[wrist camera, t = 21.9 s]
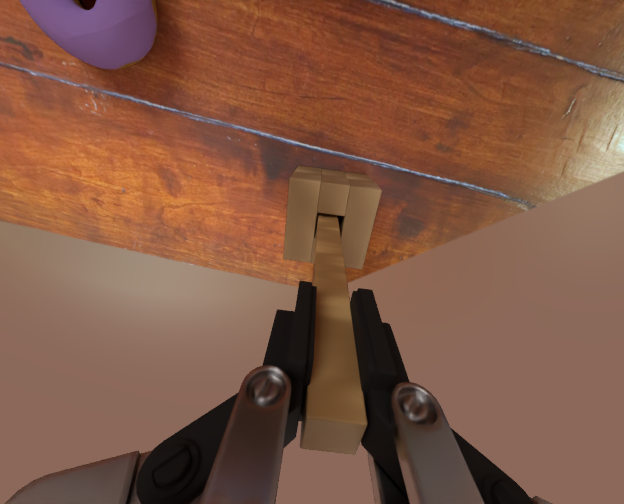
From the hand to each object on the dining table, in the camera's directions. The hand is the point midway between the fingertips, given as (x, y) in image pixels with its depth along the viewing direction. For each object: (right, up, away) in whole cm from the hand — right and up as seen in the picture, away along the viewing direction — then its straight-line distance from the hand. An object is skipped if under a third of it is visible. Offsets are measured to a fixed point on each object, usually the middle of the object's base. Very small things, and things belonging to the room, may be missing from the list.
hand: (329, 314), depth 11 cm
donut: (-17, +23, +9) cm, 30 cm away
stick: (+1, +6, +12) cm, 13 cm away
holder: (+1, +8, +16) cm, 17 cm away
